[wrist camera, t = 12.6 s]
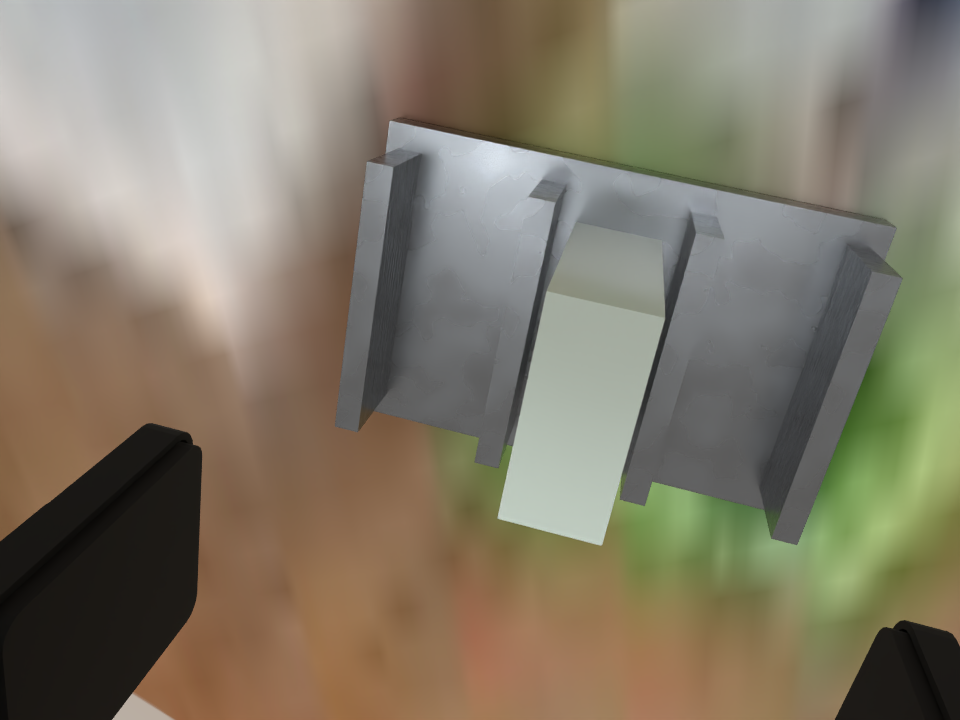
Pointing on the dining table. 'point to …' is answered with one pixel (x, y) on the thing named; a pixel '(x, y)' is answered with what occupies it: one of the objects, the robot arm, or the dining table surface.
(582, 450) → the pale green rectangular prism
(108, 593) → the robot arm
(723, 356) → the rack
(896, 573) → the dining table surface
